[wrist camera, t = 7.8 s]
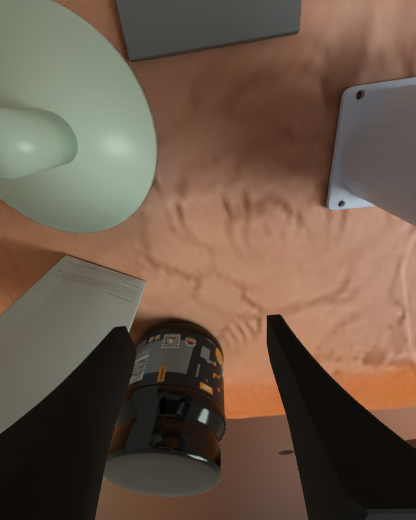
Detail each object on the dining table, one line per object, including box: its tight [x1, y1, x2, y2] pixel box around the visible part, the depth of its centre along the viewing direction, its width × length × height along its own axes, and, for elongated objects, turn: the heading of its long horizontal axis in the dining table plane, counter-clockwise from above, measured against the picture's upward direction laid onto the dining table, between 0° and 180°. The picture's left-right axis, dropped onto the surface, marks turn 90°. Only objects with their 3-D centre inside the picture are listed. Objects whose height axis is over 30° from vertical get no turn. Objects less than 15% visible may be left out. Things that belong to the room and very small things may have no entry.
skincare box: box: [0, 255, 146, 433], centre depth 17 cm, size 8×6×15 cm
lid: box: [0, 0, 158, 233], centre depth 11 cm, size 11×11×4 cm
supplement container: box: [103, 322, 226, 497], centre depth 23 cm, size 10×10×12 cm
